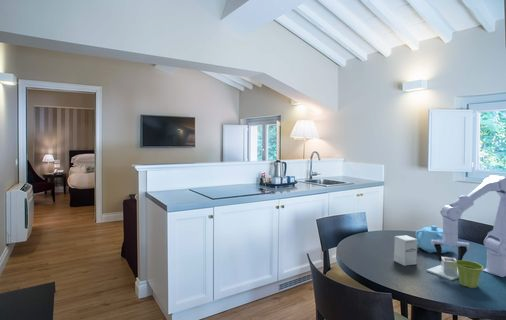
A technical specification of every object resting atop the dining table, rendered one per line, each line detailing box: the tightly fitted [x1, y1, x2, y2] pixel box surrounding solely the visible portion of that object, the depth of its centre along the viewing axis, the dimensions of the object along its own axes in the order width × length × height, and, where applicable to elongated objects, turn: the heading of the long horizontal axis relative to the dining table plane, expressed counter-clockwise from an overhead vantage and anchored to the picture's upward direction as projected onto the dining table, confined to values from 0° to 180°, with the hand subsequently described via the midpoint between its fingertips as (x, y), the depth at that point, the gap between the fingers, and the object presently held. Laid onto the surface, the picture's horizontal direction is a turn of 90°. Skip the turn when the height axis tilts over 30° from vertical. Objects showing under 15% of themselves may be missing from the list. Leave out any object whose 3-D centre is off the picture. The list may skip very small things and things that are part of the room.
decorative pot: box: [414, 225, 452, 254], centre depth 168 cm, size 16×16×14 cm
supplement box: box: [393, 234, 418, 267], centre depth 151 cm, size 7×7×13 cm
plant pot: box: [456, 259, 484, 289], centre depth 128 cm, size 9×9×9 cm
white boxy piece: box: [440, 256, 457, 273], centre depth 140 cm, size 5×5×5 cm
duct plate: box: [426, 260, 459, 281], centre depth 141 cm, size 18×11×5 cm, turn 119°
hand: (449, 261), depth 140 cm, fingers open, 7 cm apart
